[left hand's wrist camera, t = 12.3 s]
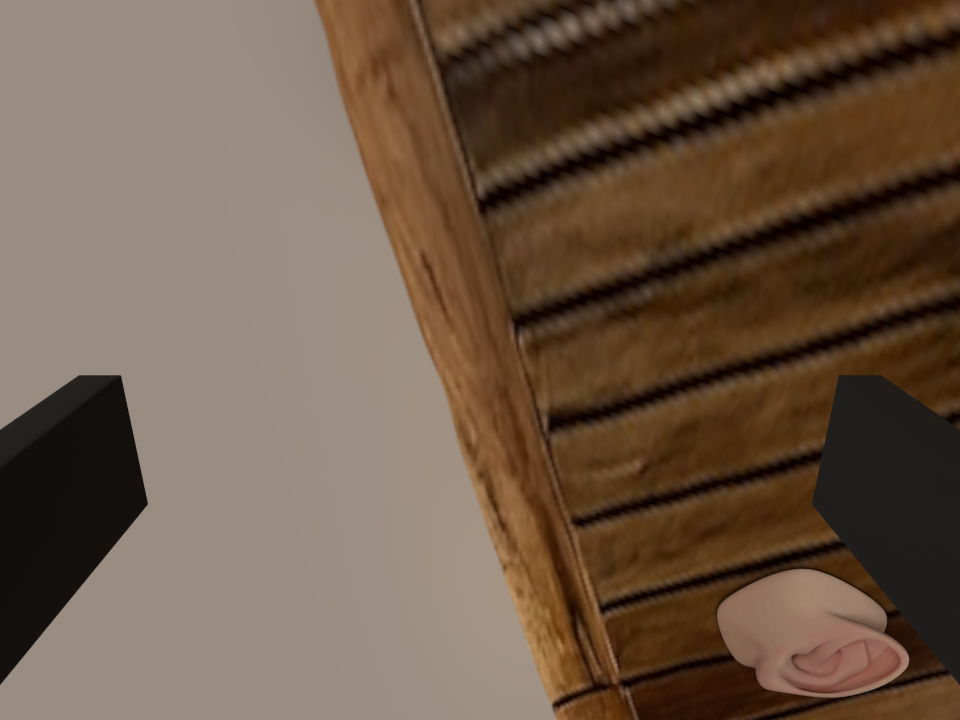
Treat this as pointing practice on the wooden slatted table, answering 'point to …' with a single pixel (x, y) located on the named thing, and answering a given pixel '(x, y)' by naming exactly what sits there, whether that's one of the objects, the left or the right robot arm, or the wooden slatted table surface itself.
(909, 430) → the left robot arm
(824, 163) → the wooden slatted table surface
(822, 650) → the anatomical model
